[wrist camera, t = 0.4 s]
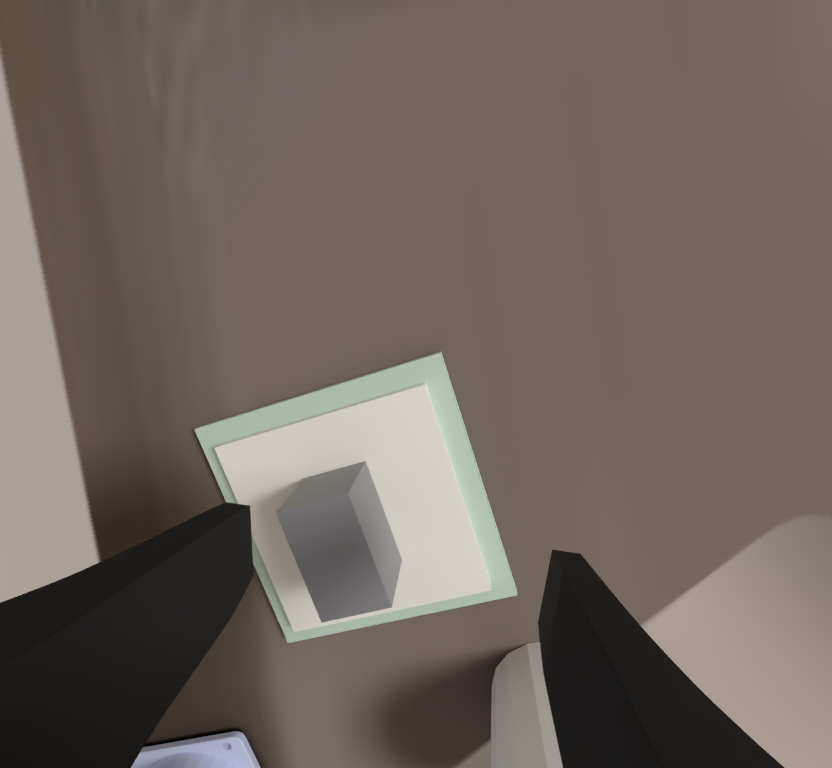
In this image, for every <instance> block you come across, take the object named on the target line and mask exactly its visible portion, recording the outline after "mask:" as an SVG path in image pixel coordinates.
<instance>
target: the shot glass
mask: <svg viewBox="0 0 832 768" xmlns="http://www.w3.org/2000/svg"><path fill="white" fill-rule="evenodd" d="M490 761H491V762H490V765H491V766H490V768H563V766H562V761H561V756H560V751H559V747H558V742H557V737H556V732H555V728H554V723H553V718H552V713H551V708H550V704H549V699H548V694H547V689H546V684H545V679H544V674H543V667H542V657H541V648H540V642H537V643H529V644H525V645H523V646H521V647H520V648H518V649H516V650H514V651H512V652H510V653H508V654H507V655H506V656H505V658H504V659H503V660H502V661H501V662H500V664H499V665H498V666H497V667H496V669H495V674H494V678H493V682H492V700H491V760H490Z"/></svg>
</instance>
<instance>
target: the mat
mask: <svg viewBox="0 0 832 768" xmlns="http://www.w3.org/2000/svg"><path fill="white" fill-rule="evenodd" d="M423 382H425V383H426V386H427V389H428V392H429V395H430V398H431V401H432V404H433V407H434V410H435V413H436V416H437V419H438V422H439V425H440V428H441V431H442V434H443V437H444V440H445V443H446V446H447V449H448V453H449V456H450V459H451V462H452V465H453V468H454V471H455V474H456V477H457V480H458V483H459V486H460V489H461V492H462V495H463V498H464V501H465V504H466V507H467V510H468V513H469V516H470V519H471V522H472V526H473V529H474V532H475V535H476V538H477V541H478V544H479V547H480V550H481V553H482V556H483V559H484V562H485V565H486V568H487V571H488V574H489V577H490V580H491V587H492V590H491V591H486V592H482V593H477V594H472V595H467V596H463V597H458V598H453V599H449V600H444V601H439V602H434V603H430V604H425V605H420V606H416V607H411V608H406V609H401V610H397V611H392V612H387V613H383V614H378V615H373V616H369V617H364V618H359V619H354V620H350V621H345V622H340V623H336V624H331V625H326V626H321V627H317V628H312V629H307V630H303V631H298V632H294V631H293V629H292V626H291V624H290V622H289V619H288V617H287V615H286V612H285V610H284V608H283V606H282V603H281V601H280V599H279V596H278V594H277V592H276V589H275V587H274V585H273V583H272V580H271V578H270V576H269V573H268V571H267V569H266V566H265V564H264V562H263V560H262V557H261V555H260V553H259V550H258V548H257V546H256V543H255V541H254V539H253V536H252V555H253V564H254V567H255V569H256V571H257V573H258V576H259V578H260V580H261V582H262V585H263V587H264V589H265V592H266V594H267V596H268V598H269V601H270V603H271V605H272V607H273V610H274V612H275V614H276V617H277V619H278V621H279V623H280V626H281V628H282V630H283V633H284V635H285V637H286V639H287V642H288V643H291V642H295V641H300V640H305V639H310V638H315V637H319V636H324V635H329V634H334V633H339V632H343V631H348V630H353V629H358V628H363V627H367V626H372V625H377V624H382V623H387V622H391V621H396V620H401V619H406V618H411V617H415V616H420V615H425V614H430V613H435V612H439V611H444V610H449V609H454V608H459V607H463V606H468V605H473V604H478V603H483V602H487V601H492V600H497V599H502V598H507V597H511V596H516V595H518V594H517V589H516V586H515V582H514V579H513V576H512V573H511V570H510V567H509V564H508V560H507V557H506V554H505V551H504V548H503V545H502V541H501V538H500V535H499V532H498V529H497V526H496V523H495V519H494V516H493V513H492V510H491V507H490V504H489V501H488V497H487V494H486V491H485V488H484V485H483V482H482V478H481V475H480V472H479V469H478V466H477V463H476V460H475V456H474V453H473V450H472V447H471V444H470V441H469V438H468V434H467V431H466V428H465V425H464V422H463V419H462V415H461V412H460V409H459V406H458V403H457V400H456V397H455V393H454V390H453V387H452V384H451V381H450V378H449V375H448V371H447V368H446V365H445V362H444V359H443V356H442V352H441V351H439V352H436V353H433V354H430V355H427V356H423V357H420V358H417V359H414V360H411V361H407V362H404V363H401V364H398V365H395V366H391V367H388V368H385V369H382V370H379V371H375V372H372V373H369V374H366V375H363V376H359V377H356V378H353V379H350V380H346V381H343V382H340V383H337V384H334V385H330V386H327V387H324V388H321V389H318V390H314V391H311V392H308V393H305V394H302V395H298V396H295V397H292V398H289V399H286V400H282V401H279V402H276V403H273V404H270V405H266V406H263V407H260V408H257V409H254V410H250V411H247V412H244V413H241V414H237V415H234V416H231V417H228V418H225V419H221V420H218V421H215V422H212V423H209V424H205V425H202V426H200V427H198V428H196V429H194V430H195V432H196V435H197V437H198V439H199V441H200V444H201V446H202V448H203V450H204V453H205V455H206V457H207V460H208V462H209V464H210V466H211V469H212V471H213V473H214V476H215V478H216V480H217V482H218V485H219V487H220V489H221V491H222V494H223V496H224V498H225V501H226V502H229V503H235V504H238V502H237V500H236V497H235V495H234V493H233V490H232V488H231V486H230V483H229V481H228V479H227V477H226V474H225V472H224V470H223V467H222V465H221V463H220V460H219V458H218V456H217V454H216V451H215V449H214V448H215V447H216V446H218V445H219V444H221V443H224V442H227V441H230V440H234V439H237V438H240V437H244V436H247V435H250V434H254V433H257V432H260V431H264V430H267V429H270V428H274V427H277V426H280V425H284V424H287V423H290V422H293V421H297V420H300V419H303V418H307V417H310V416H313V415H317V414H320V413H323V412H327V411H330V410H333V409H337V408H340V407H343V406H347V405H350V404H353V403H356V402H360V401H363V400H366V399H370V398H373V397H376V396H380V395H383V394H386V393H390V392H393V391H396V390H400V389H403V388H406V387H410V386H413V385H416V384H419V383H423Z"/></svg>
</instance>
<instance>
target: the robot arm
mask: <svg viewBox="0 0 832 768" xmlns="http://www.w3.org/2000/svg"><path fill="white" fill-rule="evenodd" d="M252 577H253V555H252V534H251V513H250V506H249V505H242V504H235V503H229V502H226V503H224V504H221V505H219V506H217V507H214V508H212V509H210V510H208V511H206V512H204V513H202V514H200V515H198V516H196V517H194V518H191V519H189V520H187V521H185V522H183V523H181V524H179V525H177V526H175V527H173V528H171V529H169V530H167V531H165V532H163V533H161V534H159V535H157V536H155V537H153V538H151V539H149V540H147V541H145V542H143V543H141V544H139V545H137V546H135V547H133V548H130V549H128V550H126V551H124V552H122V553H119V554H117V555H115V556H113V557H111V558H109V559H106V560H104V561H102V562H100V563H98V564H96V565H93V566H91V567H89V568H87V569H85V570H82V571H80V572H78V573H75V574H73V575H71V576H68V577H66V578H63V579H61V580H58V581H56V582H54V583H51V584H49V585H46V586H43V587H41V588H38V589H36V590H33V591H31V592H28V593H26V594H23V595H20V596H17V597H15V598H12V599H9V600H7V601H4V602H1V603H0V768H260V766H259V764H258V761H257V759H256V757H255V755H254V753H253V751H252V749H251V747H250V745H249V743H248V741H247V739H246V737H245V735H244V734H243V733H242V732H239V731H234V732H228V733H222V734H217V735H211V736H205V737H199V738H194V739H188V740H182V741H177V742H171V743H165V744H159V745H154V746H148V747H143V746H144V745H145V743H146V741H147V740H148V738H149V736H150V735H151V733H152V732H153V730H154V729H155V727H156V726H157V724H158V723H159V721H160V719H161V718H162V716H163V715H164V713H165V712H166V711H167V709H168V708H169V706H170V705H171V703H172V702H173V701H174V699H175V698H176V696H177V695H178V693H179V692H180V690H181V689H182V688H183V686H184V685H185V683H186V682H187V680H188V679H189V678H190V676H191V675H192V673H193V672H194V670H195V669H196V668H197V666H198V665H199V663H200V662H201V660H202V659H203V658H204V656H205V655H206V653H207V652H208V650H209V649H210V647H211V646H212V645H213V643H214V642H215V640H216V639H217V637H218V636H219V634H220V633H221V631H222V630H223V628H224V627H225V626H226V624H227V623H228V621H229V620H230V618H231V617H232V615H233V613H234V611H235V609H236V608H237V606H238V604H239V602H240V600H241V599H242V597H243V595H244V593H245V591H246V589H247V587H248V585H249V583H250V581H251V579H252ZM538 626H539V637H540V648H541V657H542V667H543V674H544V679H545V684H546V689H547V694H548V699H549V704H550V708H551V713H552V718H553V723H554V728H555V732H556V737H557V742H558V747H559V751H560V756H561V761H562V766H563V768H784V767H783V766H782V765H781V764H779V763H778V762H777V761H776V760H775V759H774V758H773V757H771V756H770V755H769V754H768V753H767V752H766V751H765V750H764V749H763V748H761V747H760V746H759V745H758V744H757V743H756V742H755V741H754V740H753V739H751V738H750V737H749V736H748V735H747V734H746V733H745V732H744V731H743V730H742V729H741V728H740V727H739V726H738V725H737V724H735V723H734V722H733V721H732V720H731V719H730V718H729V717H728V716H727V715H726V714H725V713H724V712H723V711H722V710H721V709H720V708H718V707H717V706H716V705H715V704H714V703H713V702H712V701H711V700H710V699H709V698H708V697H707V696H706V695H705V694H704V693H703V692H702V691H701V690H700V689H699V688H698V687H697V686H696V685H695V684H694V683H693V682H692V681H691V680H690V679H689V678H688V677H687V676H686V675H685V674H684V673H683V672H682V670H680V668H679V667H678V666H677V665H676V664H675V663H674V662H673V661H672V660H671V659H670V658H669V657H668V656H667V655H666V654H665V653H664V652H663V650H662V649H661V648H660V647H659V646H658V645H657V644H656V643H655V642H654V641H653V640H652V638H651V637H650V636H649V635H648V634H647V633H646V632H645V631H644V629H643V628H642V627H641V626H640V625H639V624H638V623H637V621H636V620H635V619H634V618H633V617H632V616H631V614H630V613H629V612H628V611H627V610H626V609H625V607H624V606H623V605H622V604H621V603H620V602H619V600H618V599H617V598H616V597H615V595H614V594H613V593H612V592H611V591H610V589H609V588H608V587H607V586H606V585H605V583H604V582H603V581H602V580H601V578H600V577H599V576H598V575H597V574H596V572H595V571H594V570H593V569H592V567H591V566H590V565H589V564H588V562H587V561H586V560H585V559H584V558H583V557H582V555H581V554H578V553H571V552H564V551H557V550H552V554H551V559H550V564H549V569H548V574H547V580H546V585H545V590H544V595H543V600H542V605H541V610H540V616H539V621H538Z"/></svg>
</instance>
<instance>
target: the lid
mask: <svg viewBox="0 0 832 768" xmlns="http://www.w3.org/2000/svg"><path fill="white" fill-rule="evenodd" d="M214 449H215V451H216V454H217V456H218V458H219V460H220V463H221V465H222V467H223V470H224V472H225V474H226V477H227V479H228V481H229V483H230V486H231V488H232V490H233V493H234V495H235V497H236V500H237V502H238V504H242V505H249V506H250V513H251V534H252V536H253V539H254V541H255V543H256V546H257V548H258V550H259V553H260V555H261V557H262V560H263V562H264V564H265V566H266V569H267V571H268V573H269V576H270V578H271V580H272V583H273V585H274V587H275V589H276V592H277V594H278V596H279V599H280V601H281V603H282V606H283V608H284V610H285V612H286V615H287V617H288V619H289V622H290V624H291V626H292V629H293V631H294V632H298V631H303V630H307V629H312V628H317V627H321V626H326V625H331V624H336V623H340V622H345V621H350V620H354V619H359V618H364V617H369V616H373V615H378V614H383V613H387V612H392V611H397V610H401V609H406V608H411V607H416V606H420V605H425V604H430V603H434V602H439V601H444V600H449V599H453V598H458V597H463V596H467V595H472V594H477V593H482V592H486V591H491V590H492V587H491V580H490V577H489V574H488V571H487V568H486V565H485V562H484V559H483V556H482V553H481V550H480V547H479V544H478V541H477V538H476V535H475V532H474V529H473V526H472V522H471V519H470V516H469V513H468V510H467V507H466V504H465V501H464V498H463V495H462V492H461V489H460V486H459V483H458V480H457V477H456V474H455V471H454V468H453V465H452V462H451V459H450V456H449V453H448V449H447V446H446V443H445V440H444V437H443V434H442V431H441V428H440V425H439V422H438V419H437V416H436V413H435V410H434V407H433V404H432V401H431V398H430V395H429V392H428V389H427V386H426V383H425V382H423V383H419V384H416V385H413V386H410V387H406V388H403V389H400V390H396V391H393V392H390V393H386V394H383V395H380V396H376V397H373V398H370V399H366V400H363V401H360V402H356V403H353V404H350V405H347V406H343V407H340V408H337V409H333V410H330V411H327V412H323V413H320V414H317V415H313V416H310V417H307V418H303V419H300V420H297V421H293V422H290V423H287V424H284V425H280V426H277V427H274V428H270V429H267V430H264V431H260V432H257V433H254V434H250V435H247V436H244V437H240V438H237V439H234V440H230V441H227V442H224V443H221V444H219V445H218V446H216V447H215V448H214Z"/></svg>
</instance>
